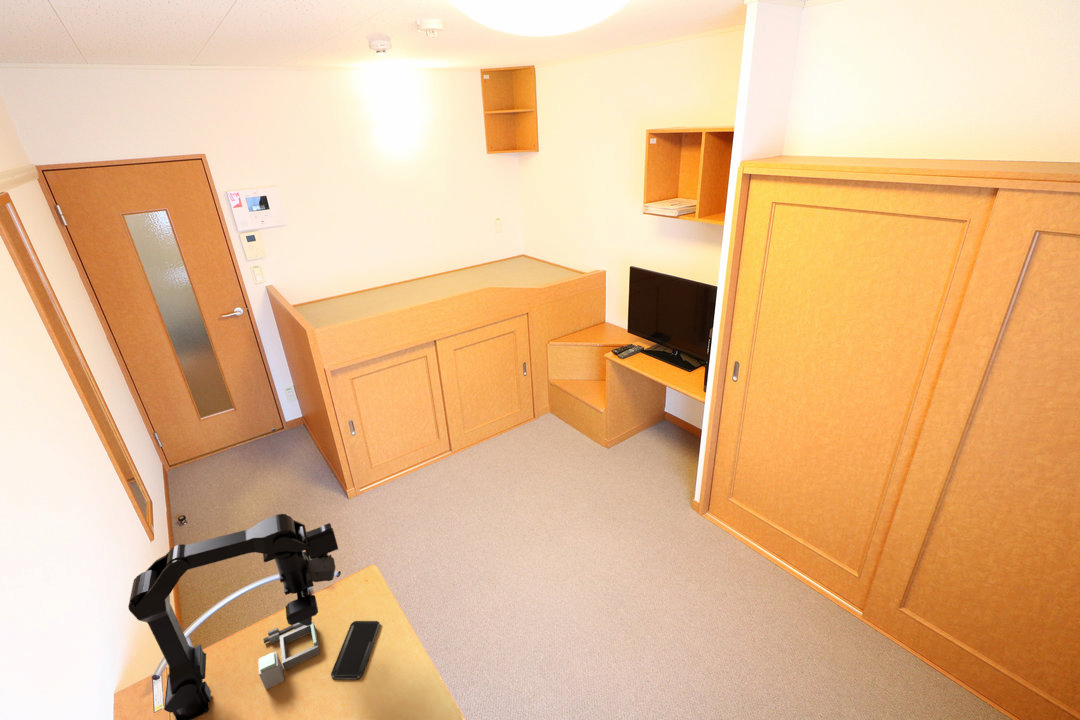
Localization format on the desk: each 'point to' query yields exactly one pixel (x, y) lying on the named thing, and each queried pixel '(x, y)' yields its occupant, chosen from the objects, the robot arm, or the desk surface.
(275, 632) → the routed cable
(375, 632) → the phone
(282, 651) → the frame
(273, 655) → the block
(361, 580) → the desk surface
